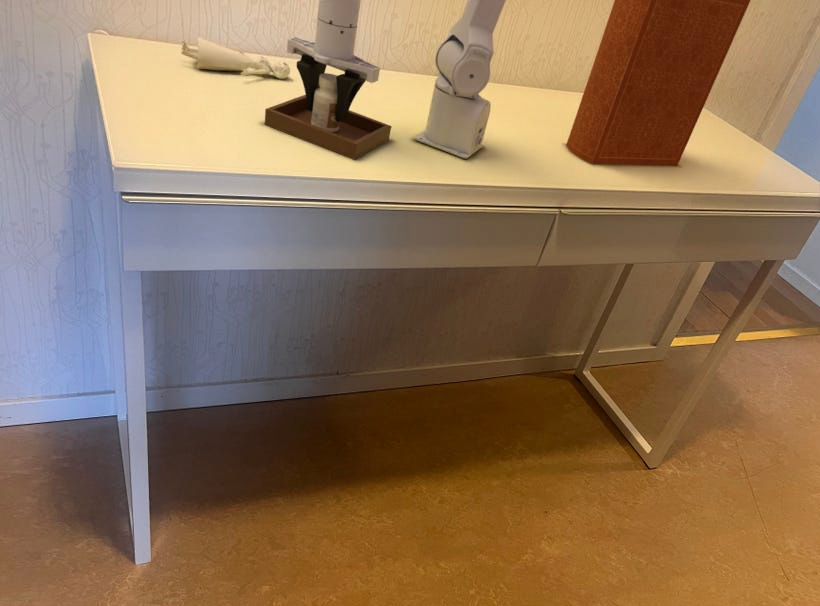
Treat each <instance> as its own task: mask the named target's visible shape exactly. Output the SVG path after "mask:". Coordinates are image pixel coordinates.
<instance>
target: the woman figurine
mask: <svg viewBox="0 0 820 606" xmlns="http://www.w3.org/2000/svg"><path fill="white" fill-rule="evenodd" d="M181 55H183V56H185V57H187V58H191V59H193V60H195V61H197V70H208V71H209V70H211V71H241V72H240V76H242V77H244V76H248V75H266V76H268V75H270V74H271V73H272V74H273V75H274V77H276V78H277V79H282V80H283V79H286V78H288V77H289V75H290V73H291V69H290V67H289V64H288V63H287V62H282V63H280V61H279V62H275V63H274V66H273V65H272V63H271V62H270V61H269V60H268V59H267V58H265V57H264V56H262V55H258V57H259V58H254V57H251V56H249V55H247V54H245V53H244V52H242V51H236V50H235V49H234V50H233V49H231V48H228V47H226V46H223V45H222V44H219V43H215V42H213V41H210V40H207V39H205V38H202V37H200V36H199V37H198V40H197V48H194V47H191V46H188V45H187V43H186V41H185V39H183V40H182V44H181ZM250 68H252V69H255V70H251V71H250V70H249V71H248V70H247V69H250Z"/></svg>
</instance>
